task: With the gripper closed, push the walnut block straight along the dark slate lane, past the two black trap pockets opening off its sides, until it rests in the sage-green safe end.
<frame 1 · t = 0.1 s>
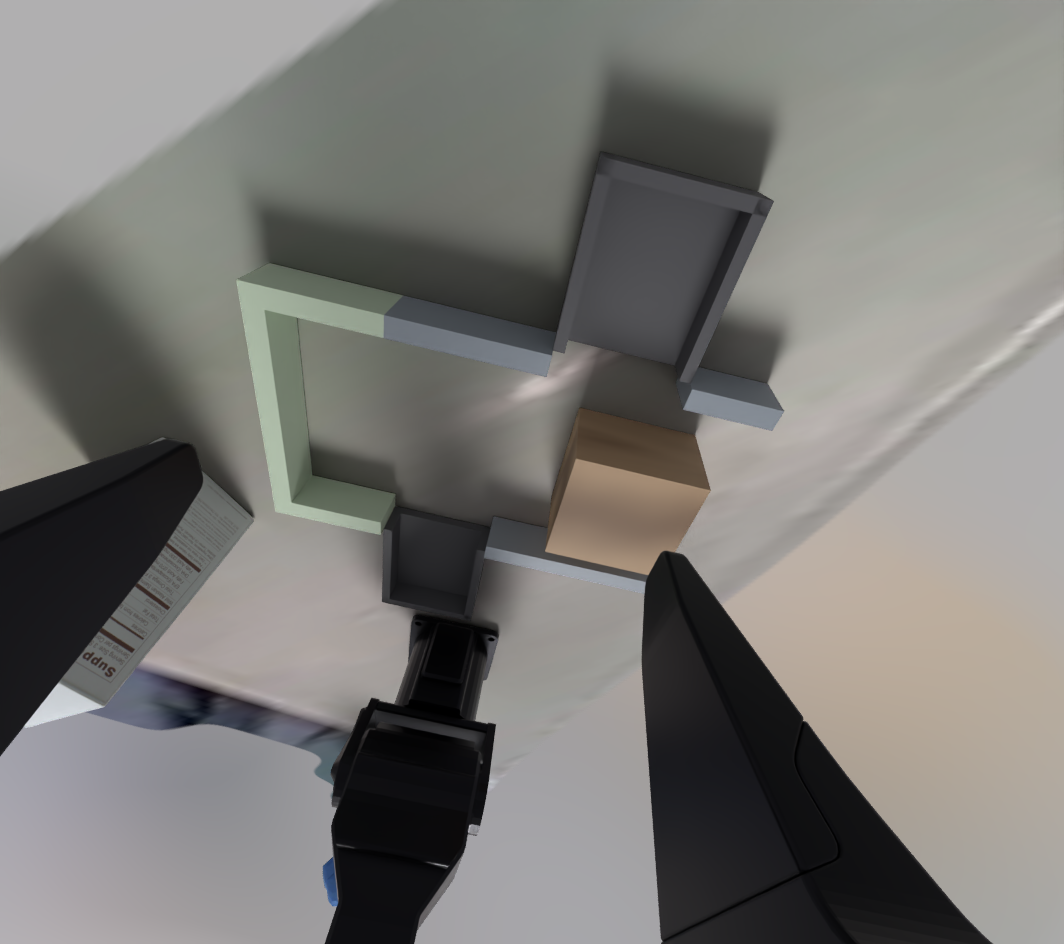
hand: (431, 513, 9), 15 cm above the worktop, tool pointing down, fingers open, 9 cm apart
supplement box: (181, 494, 31), on the worktop
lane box: (491, 438, 26), on the worktop
grapes: (394, 763, 54), on the worktop
walnut block: (618, 466, 26), on the worktop
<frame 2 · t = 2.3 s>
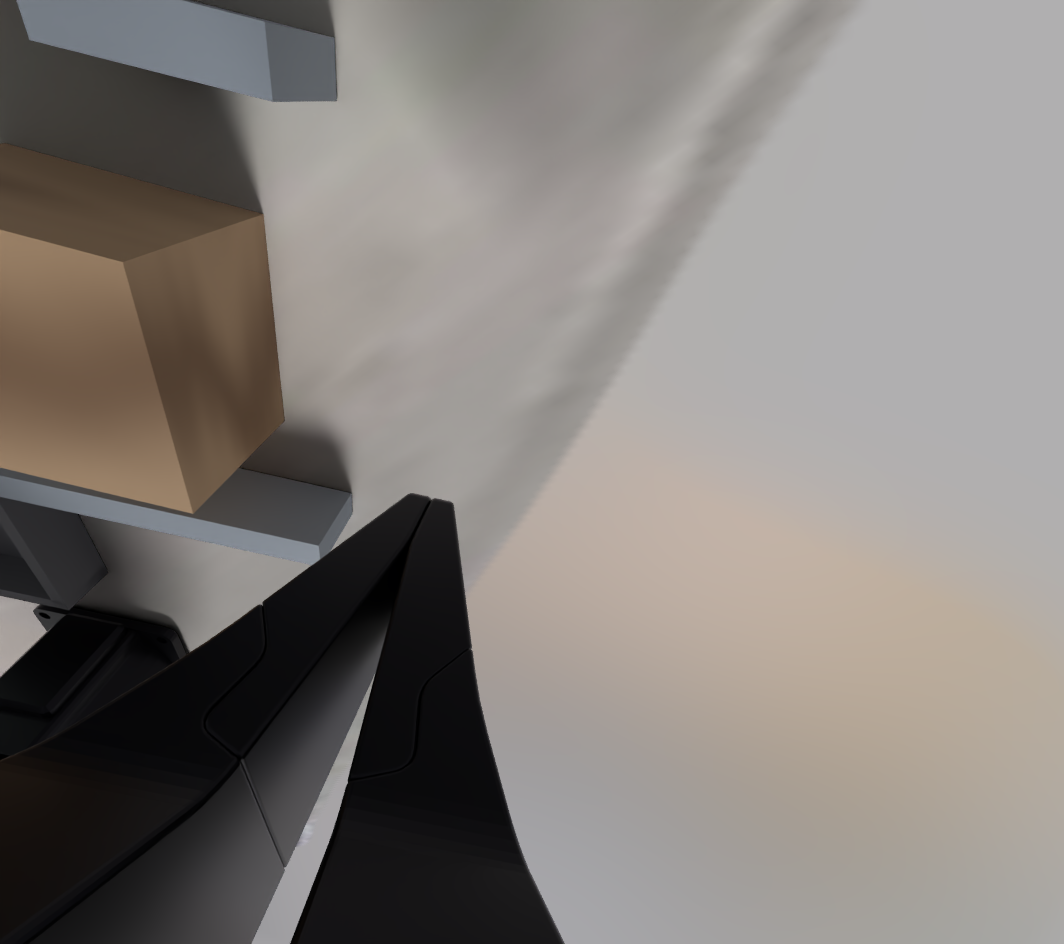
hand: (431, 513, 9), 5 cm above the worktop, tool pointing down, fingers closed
walnut block: (169, 301, 13), on the worktop
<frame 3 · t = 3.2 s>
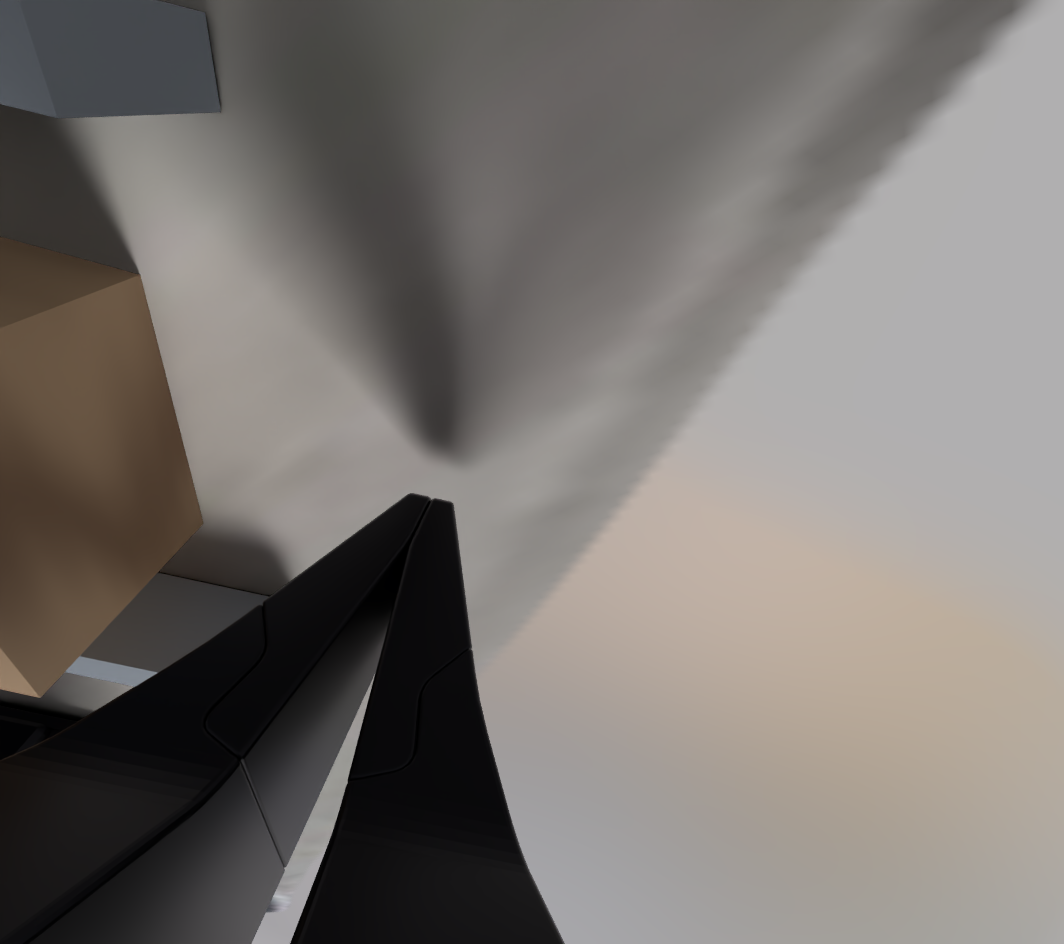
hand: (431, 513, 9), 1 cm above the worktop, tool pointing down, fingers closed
walnut block: (33, 379, 10), on the worktop
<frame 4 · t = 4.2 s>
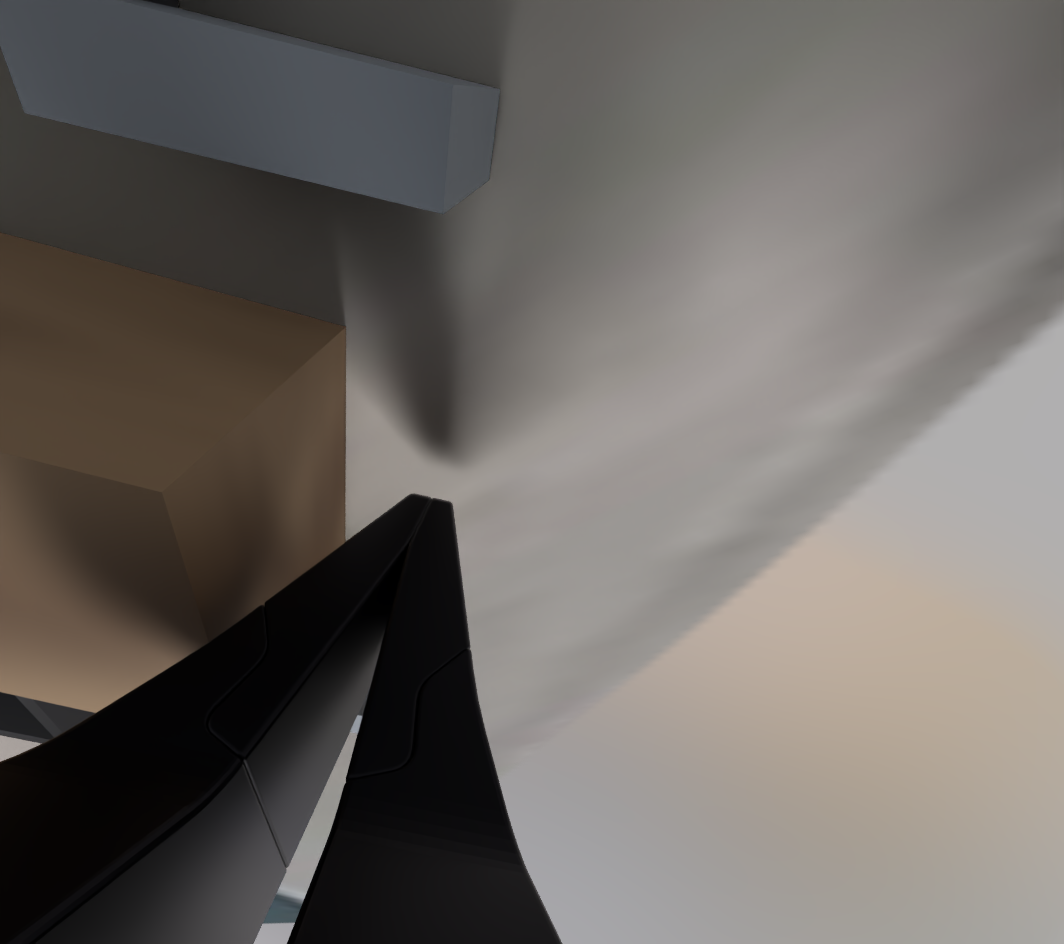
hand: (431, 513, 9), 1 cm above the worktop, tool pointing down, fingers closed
walnut block: (202, 422, 10), on the worktop, touching gripper
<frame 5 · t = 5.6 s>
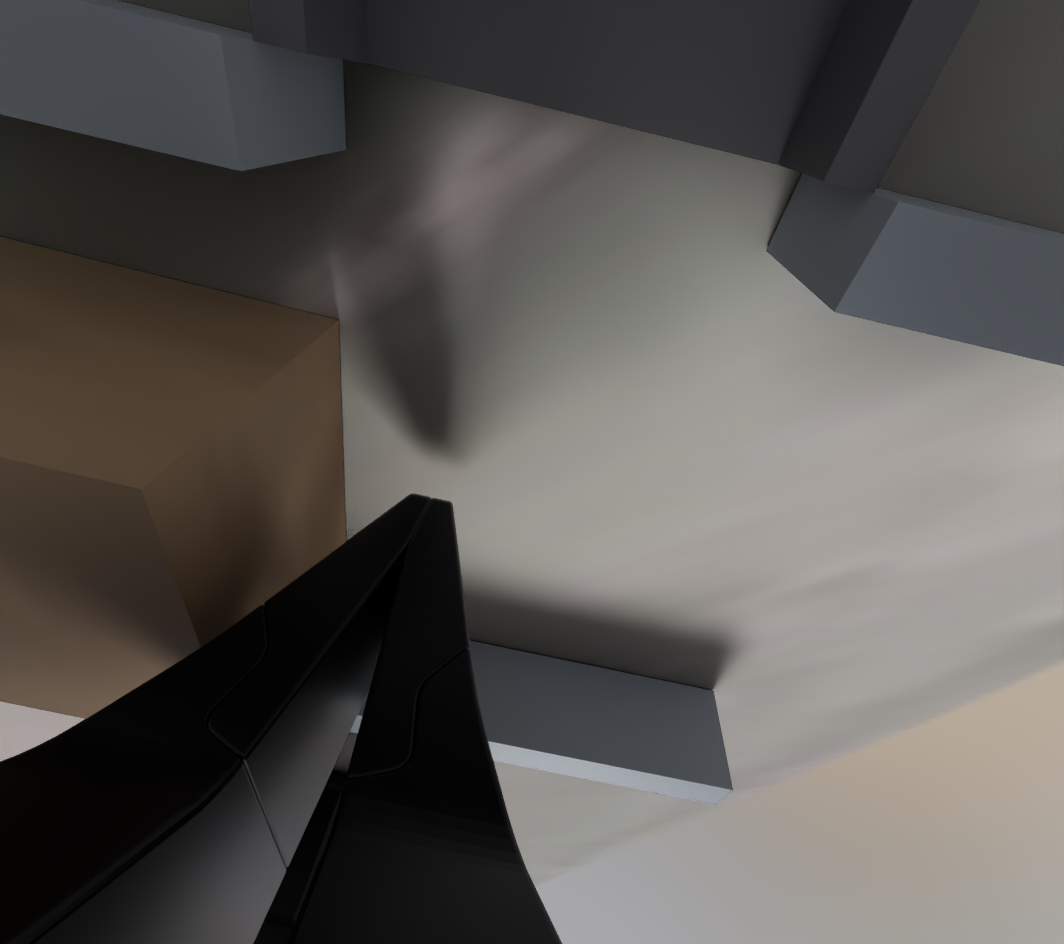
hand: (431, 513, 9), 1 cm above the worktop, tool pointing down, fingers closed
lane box: (261, 441, 10), on the worktop
walnut block: (197, 424, 10), on the worktop, touching gripper
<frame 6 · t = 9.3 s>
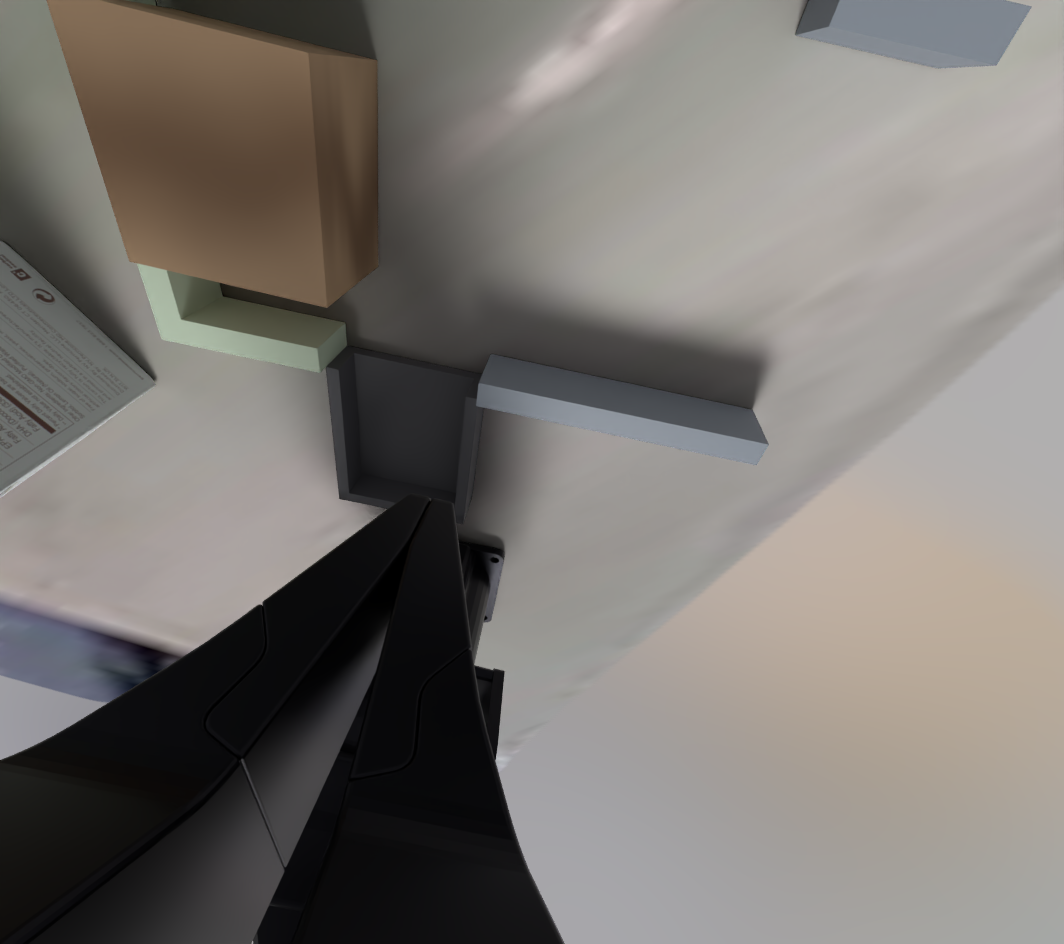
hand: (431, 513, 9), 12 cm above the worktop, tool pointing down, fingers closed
supplement box: (53, 349, 22), on the worktop
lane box: (481, 198, 16), on the worktop
walnut block: (291, 152, 16), on the worktop
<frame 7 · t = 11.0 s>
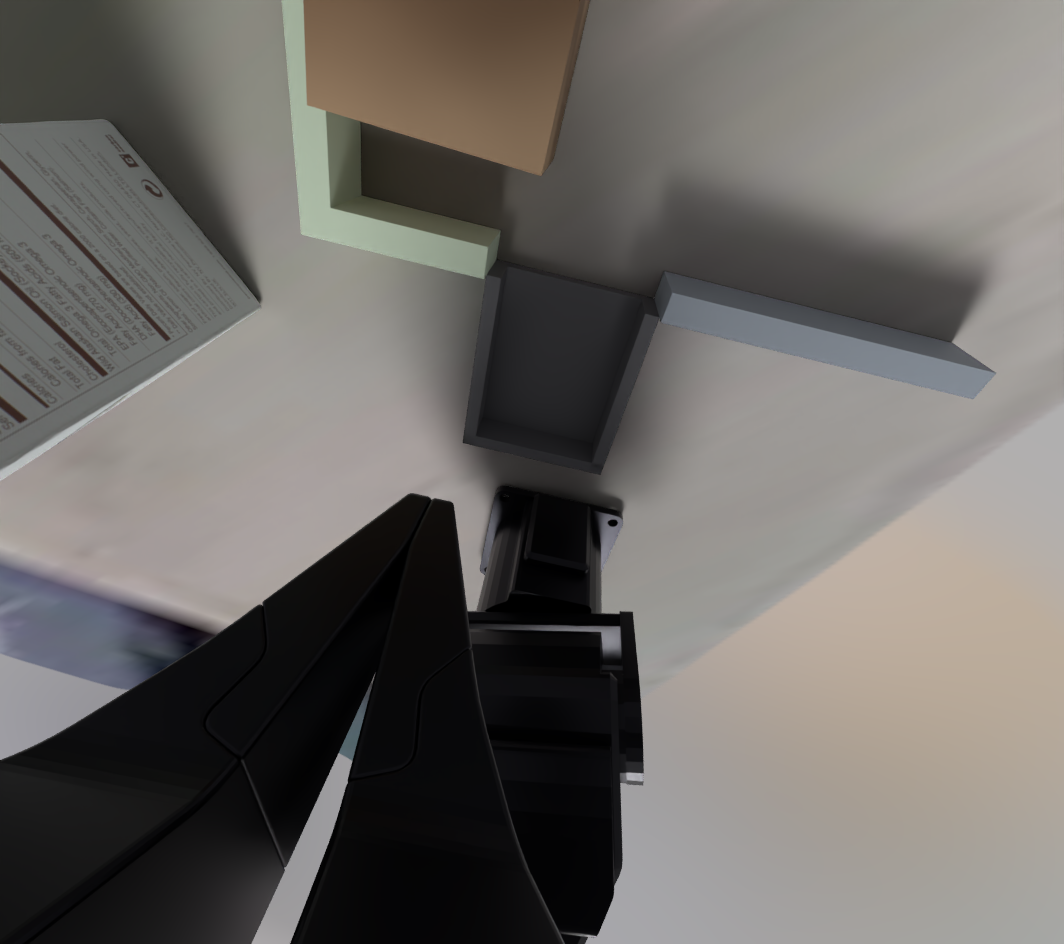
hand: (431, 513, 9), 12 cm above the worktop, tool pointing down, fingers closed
supplement box: (144, 263, 20), on the worktop
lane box: (700, 69, 14), on the worktop
walnut block: (480, 8, 14), on the worktop
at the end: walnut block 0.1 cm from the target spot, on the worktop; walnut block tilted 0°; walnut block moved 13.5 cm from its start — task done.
